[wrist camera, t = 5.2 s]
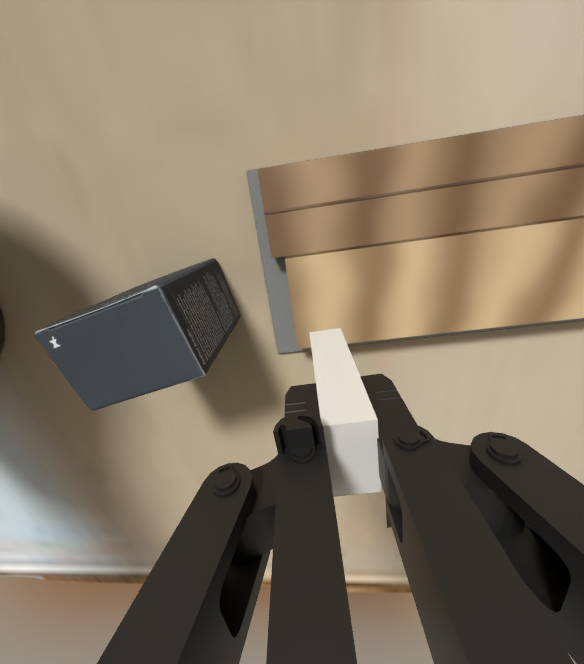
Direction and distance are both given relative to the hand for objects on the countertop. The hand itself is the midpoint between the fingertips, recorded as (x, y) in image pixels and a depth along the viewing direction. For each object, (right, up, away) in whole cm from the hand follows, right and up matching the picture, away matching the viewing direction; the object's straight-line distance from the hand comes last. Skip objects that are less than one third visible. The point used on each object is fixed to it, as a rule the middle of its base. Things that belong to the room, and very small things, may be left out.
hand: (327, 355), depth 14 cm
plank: (+10, +5, +9) cm, 15 cm away
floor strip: (+9, +12, +7) cm, 17 cm away
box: (-11, +4, +11) cm, 16 cm away
